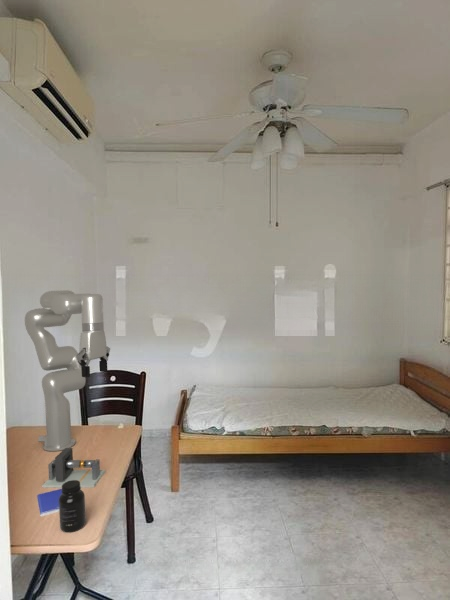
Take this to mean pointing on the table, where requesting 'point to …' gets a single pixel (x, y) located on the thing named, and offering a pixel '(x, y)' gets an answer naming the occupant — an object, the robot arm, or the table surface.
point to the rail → (77, 464)
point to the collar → (63, 464)
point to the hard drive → (49, 502)
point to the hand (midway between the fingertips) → (95, 374)
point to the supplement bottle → (72, 507)
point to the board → (79, 475)
